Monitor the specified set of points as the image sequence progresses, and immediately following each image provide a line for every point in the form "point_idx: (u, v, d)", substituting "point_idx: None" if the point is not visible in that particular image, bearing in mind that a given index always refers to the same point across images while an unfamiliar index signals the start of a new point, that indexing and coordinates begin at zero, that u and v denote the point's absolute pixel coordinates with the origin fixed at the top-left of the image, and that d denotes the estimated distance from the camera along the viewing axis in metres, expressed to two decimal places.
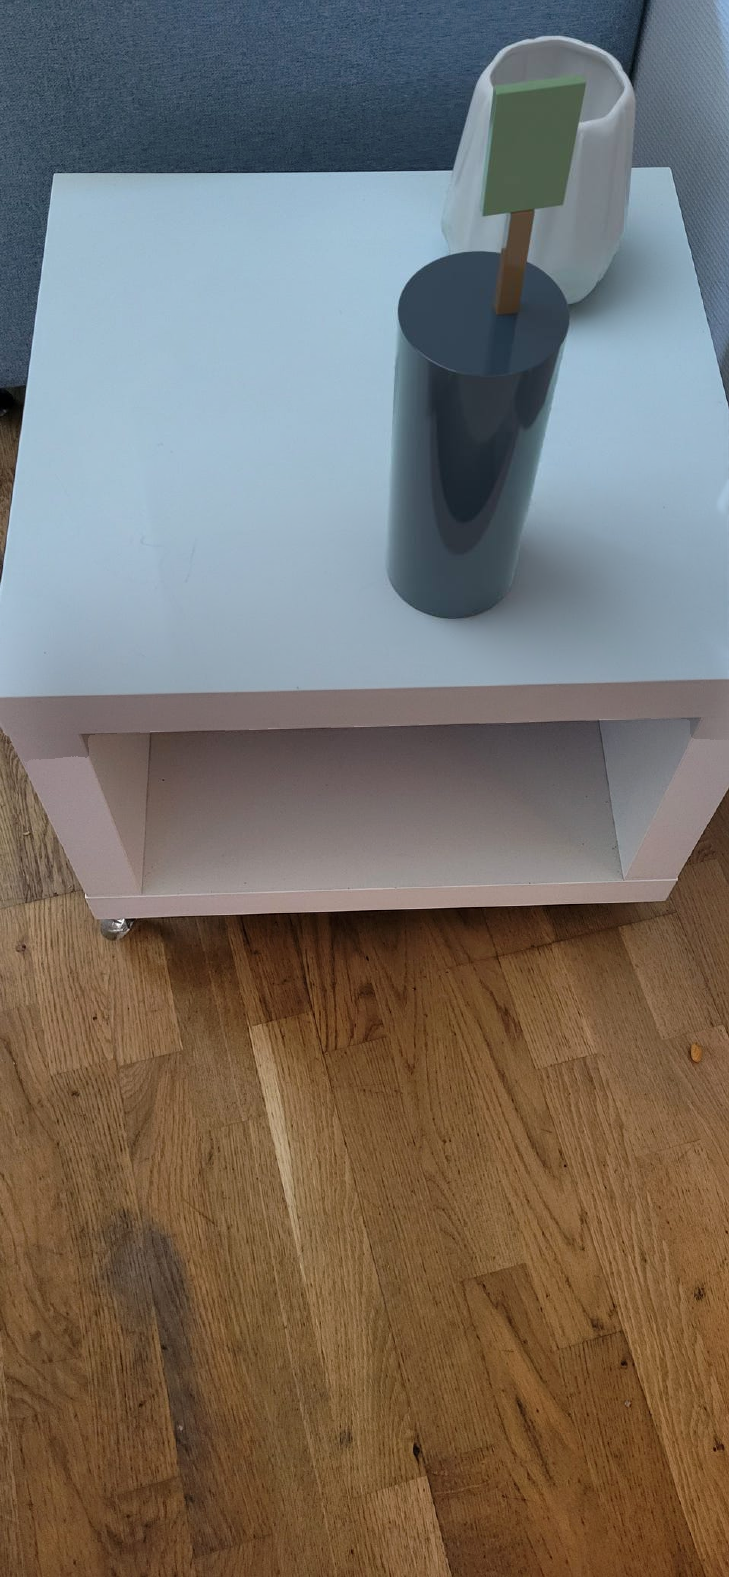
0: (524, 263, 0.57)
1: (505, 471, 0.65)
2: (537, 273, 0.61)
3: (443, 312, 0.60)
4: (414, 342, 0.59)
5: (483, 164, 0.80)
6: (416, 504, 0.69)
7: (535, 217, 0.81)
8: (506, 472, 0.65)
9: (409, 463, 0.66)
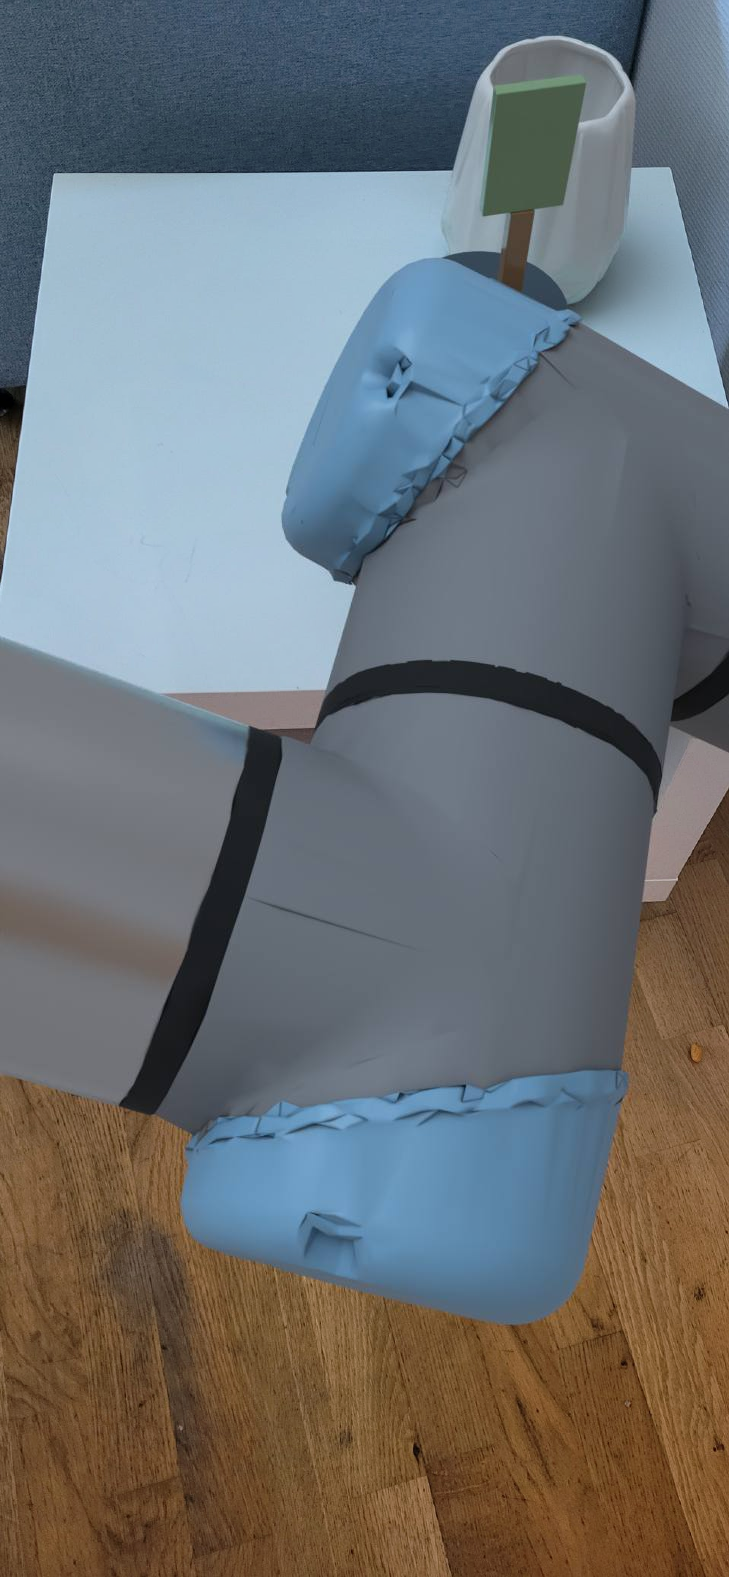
0: (524, 263, 0.57)
1: None
2: (537, 273, 0.61)
3: None
4: None
5: (483, 164, 0.80)
6: None
7: (535, 217, 0.81)
8: None
9: None
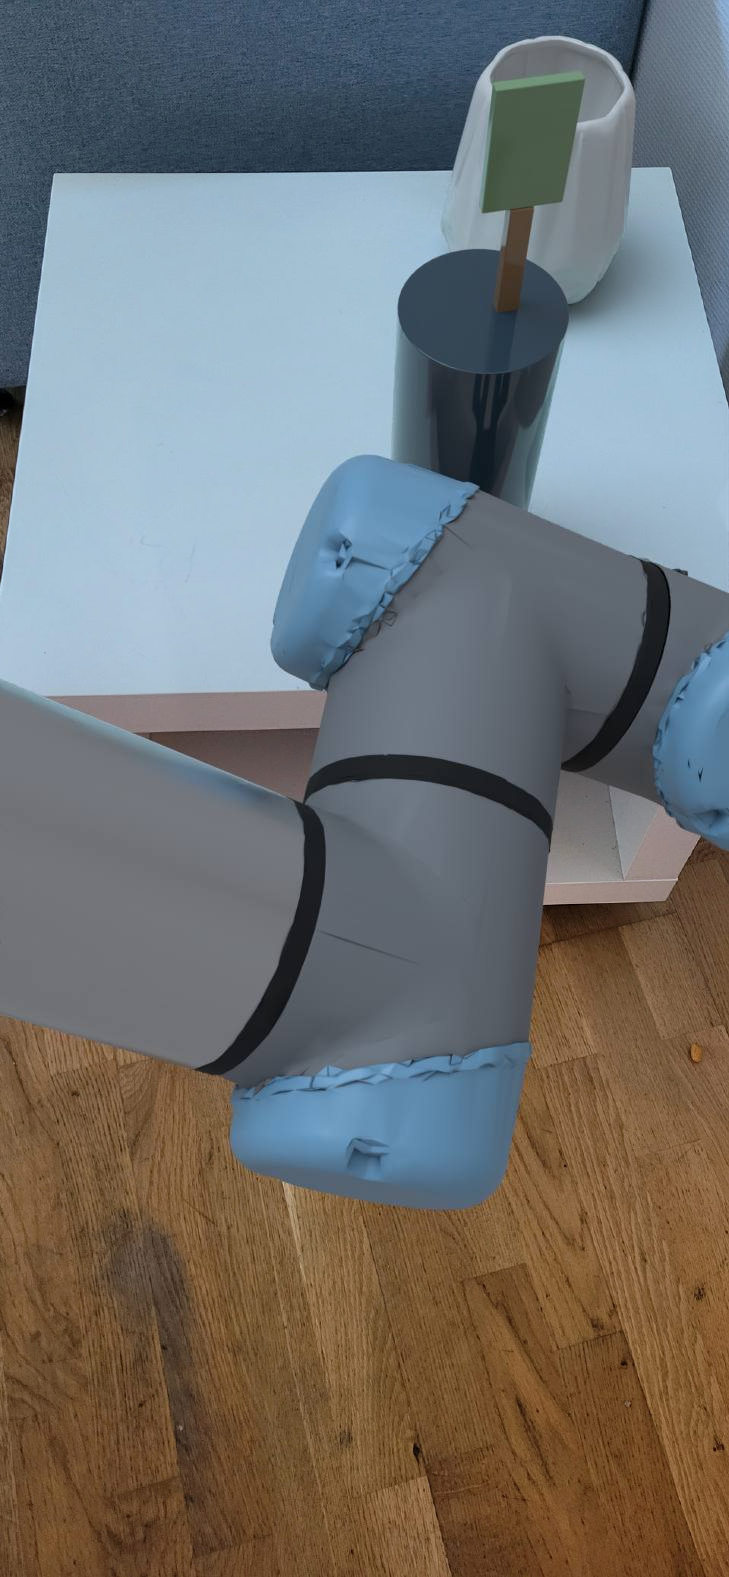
0: (524, 260, 0.57)
1: (505, 469, 0.65)
2: (536, 270, 0.61)
3: (443, 310, 0.60)
4: (414, 340, 0.59)
5: (483, 164, 0.80)
6: None
7: (535, 217, 0.81)
8: (506, 469, 0.65)
9: (410, 461, 0.66)
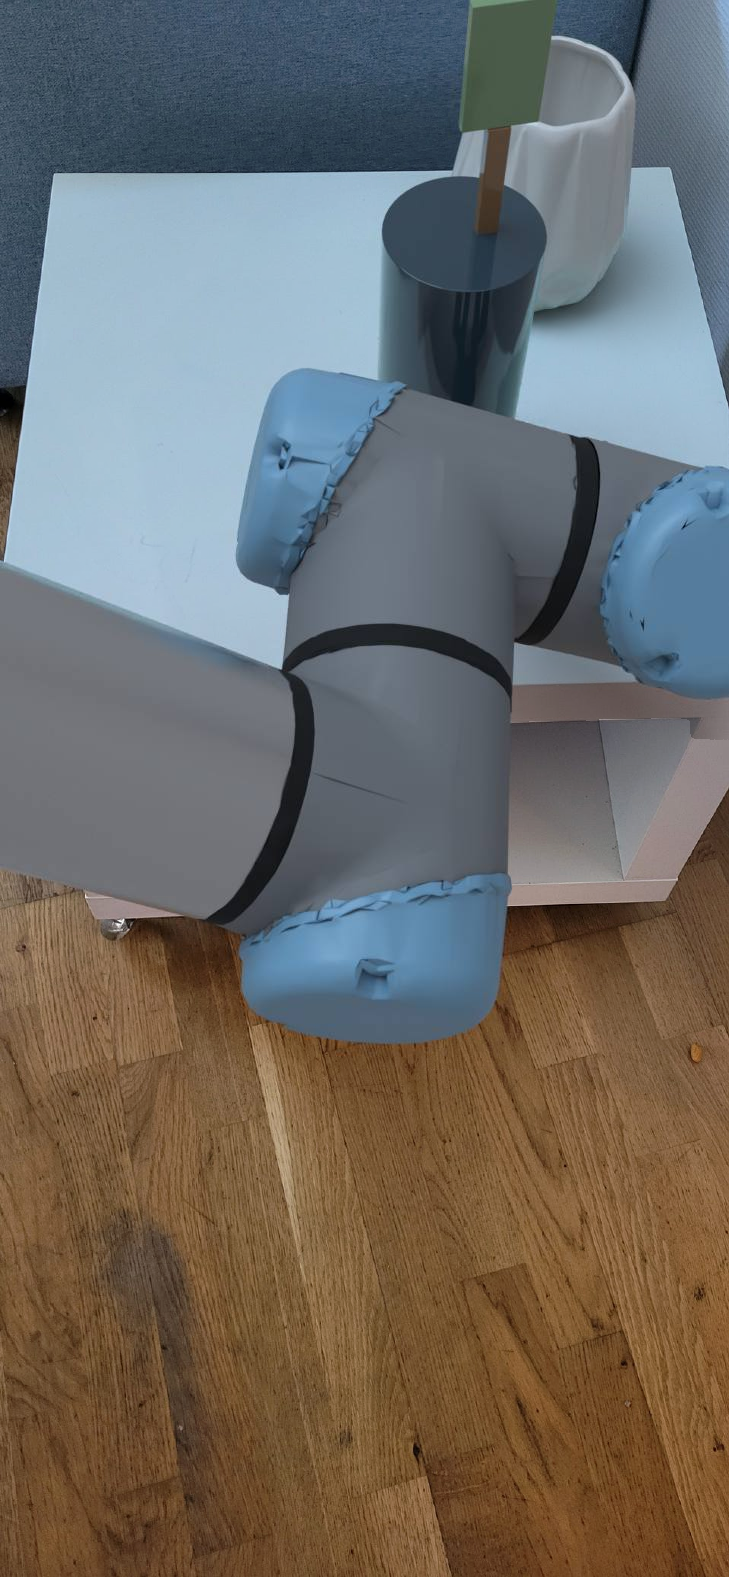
0: (502, 181, 0.59)
1: (487, 392, 0.67)
2: (515, 196, 0.63)
3: (425, 233, 0.62)
4: (398, 261, 0.61)
5: None
6: None
7: None
8: (488, 392, 0.67)
9: None
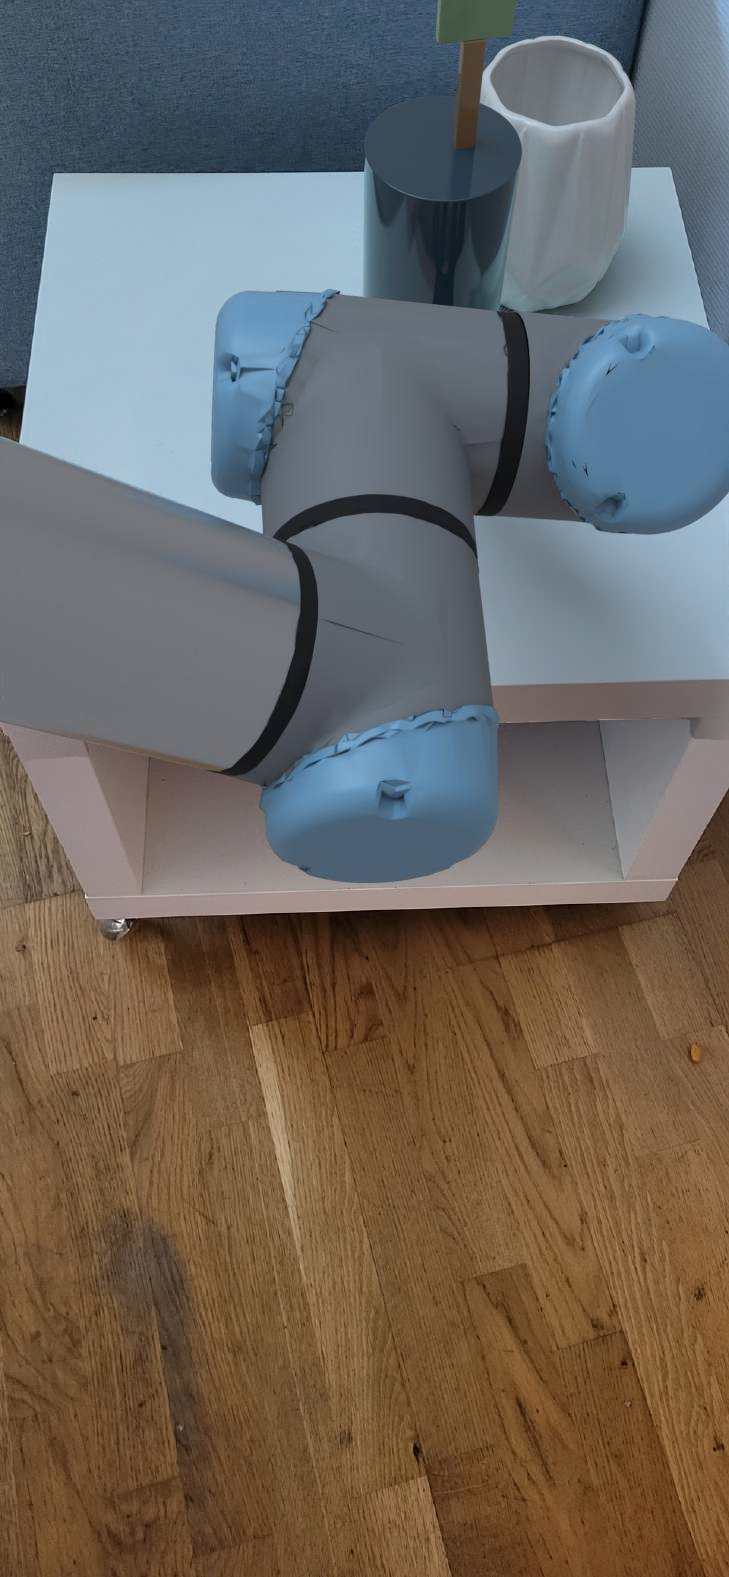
0: (478, 95, 0.62)
1: (465, 307, 0.70)
2: (494, 115, 0.66)
3: (406, 147, 0.65)
4: (378, 172, 0.64)
5: None
6: None
7: (535, 217, 0.81)
8: (466, 307, 0.70)
9: None
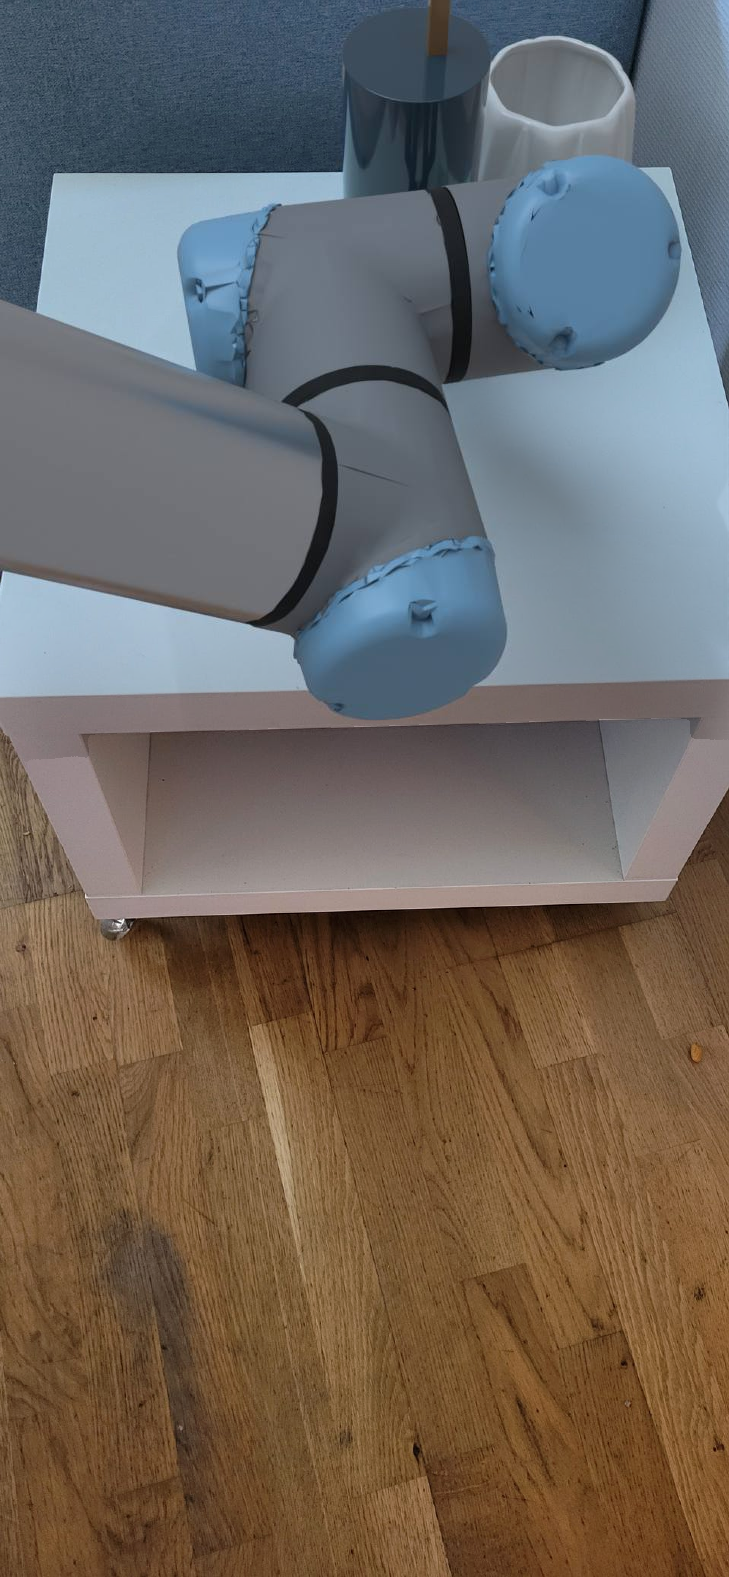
0: (448, 1, 0.66)
1: None
2: (465, 25, 0.70)
3: (381, 53, 0.69)
4: (354, 75, 0.68)
5: (483, 164, 0.80)
6: None
7: None
8: None
9: None
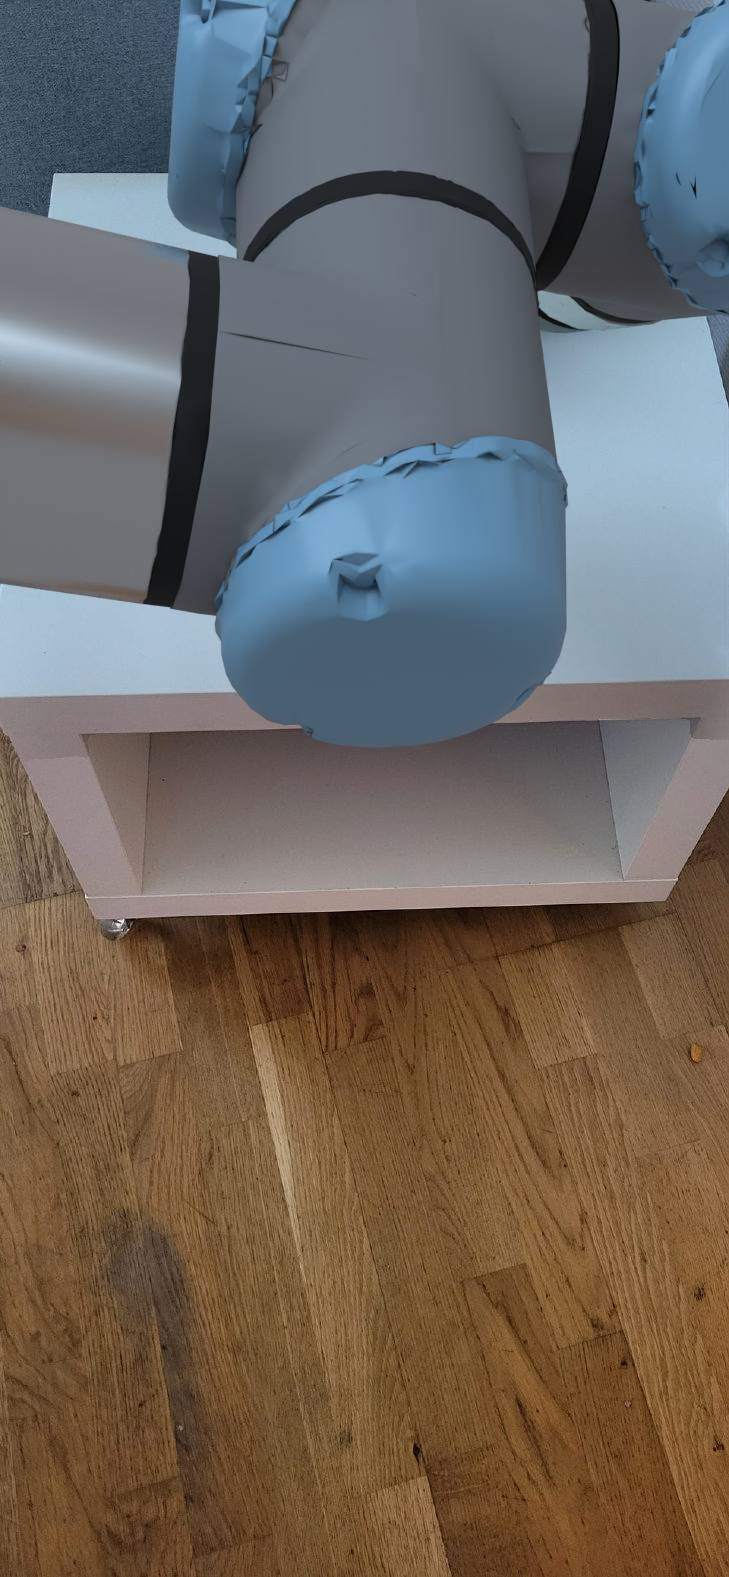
0: None
1: None
2: None
3: None
4: None
5: None
6: None
7: None
8: None
9: None
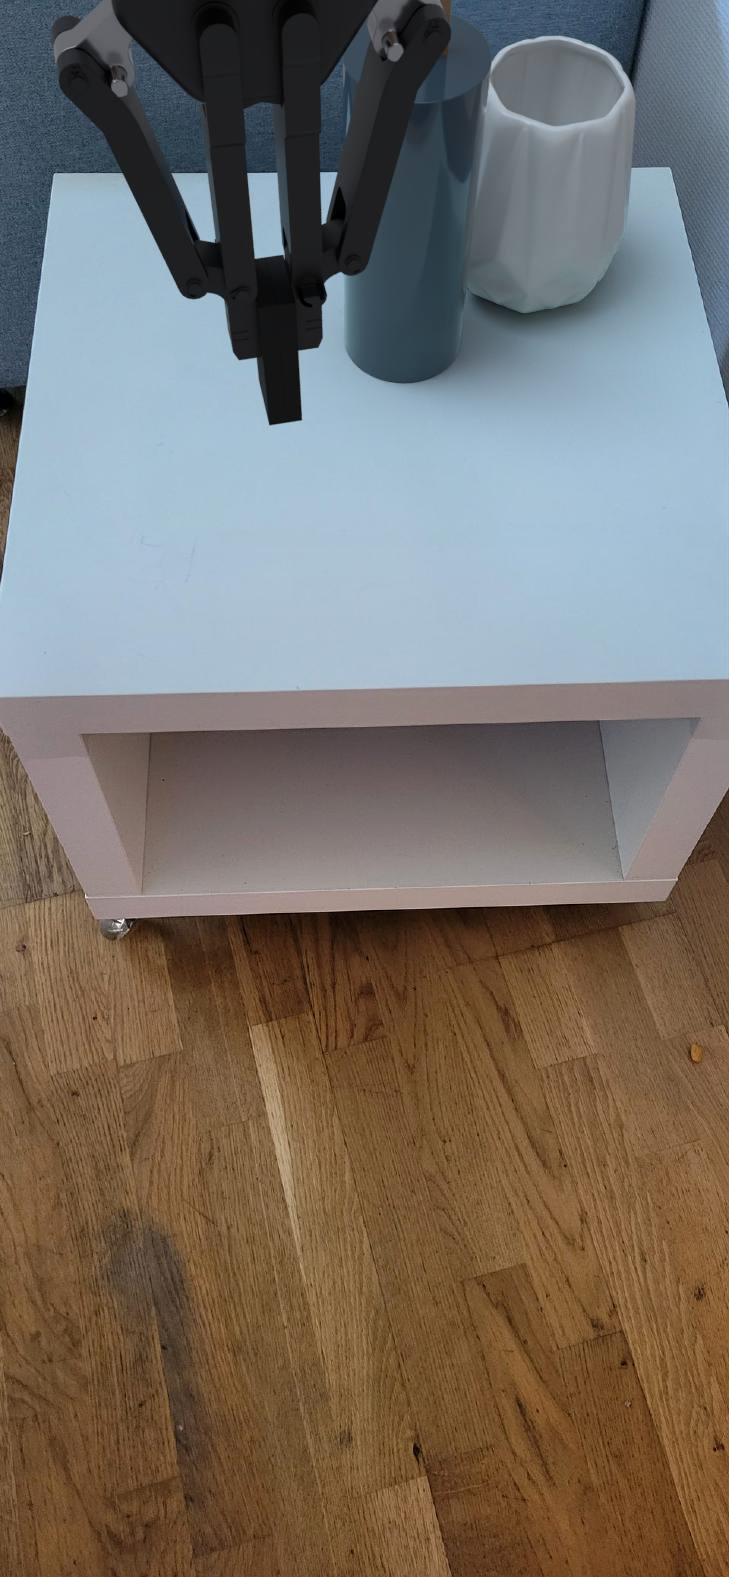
0: (449, 2, 0.66)
1: (438, 213, 0.74)
2: (466, 26, 0.70)
3: None
4: (355, 76, 0.68)
5: (483, 164, 0.80)
6: None
7: (535, 217, 0.81)
8: (439, 214, 0.74)
9: None
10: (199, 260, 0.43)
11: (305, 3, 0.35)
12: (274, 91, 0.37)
